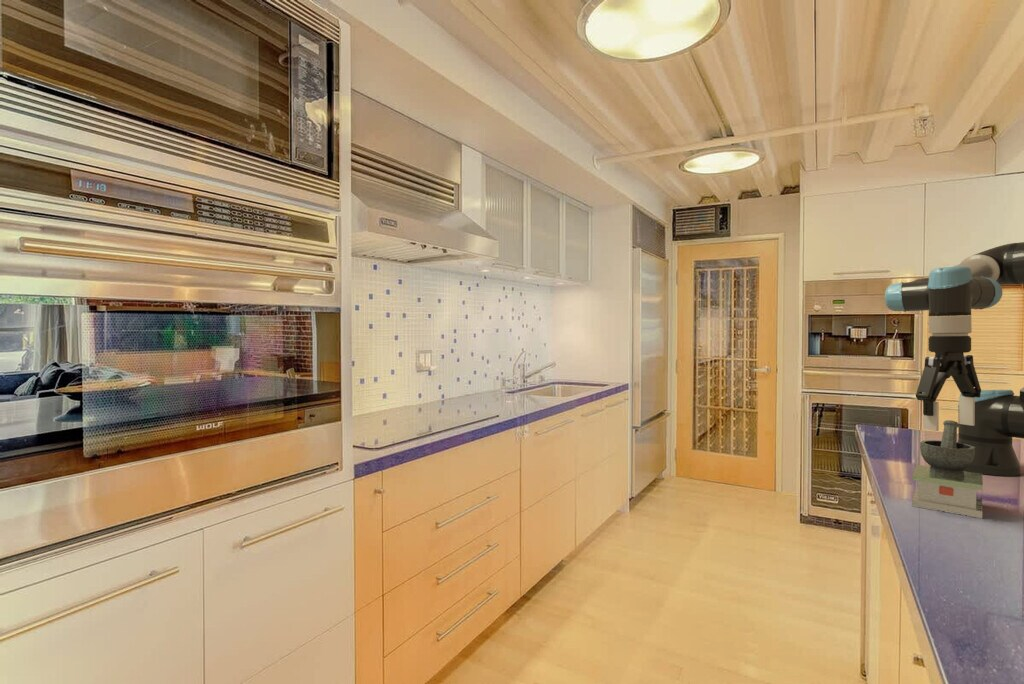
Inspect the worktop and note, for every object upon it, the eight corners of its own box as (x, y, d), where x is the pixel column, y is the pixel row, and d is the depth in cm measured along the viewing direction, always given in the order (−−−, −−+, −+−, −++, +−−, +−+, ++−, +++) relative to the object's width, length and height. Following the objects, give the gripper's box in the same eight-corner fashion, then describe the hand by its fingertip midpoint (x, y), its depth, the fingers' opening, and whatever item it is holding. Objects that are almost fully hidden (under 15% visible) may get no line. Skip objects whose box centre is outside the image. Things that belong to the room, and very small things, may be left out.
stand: (916, 493, 128) (916, 464, 128) (981, 504, 120) (982, 473, 120) (911, 506, 120) (912, 474, 119) (982, 518, 112) (982, 485, 111)
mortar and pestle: (970, 482, 113) (971, 427, 113) (916, 474, 120) (917, 422, 120) (977, 473, 121) (978, 421, 120) (926, 465, 127) (927, 416, 127)
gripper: (962, 333, 127) (962, 420, 128) (896, 336, 118) (896, 429, 119) (1001, 333, 120) (1000, 425, 121) (934, 336, 111) (933, 435, 112)
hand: (949, 427), depth 120 cm, fingers open, 13 cm apart
